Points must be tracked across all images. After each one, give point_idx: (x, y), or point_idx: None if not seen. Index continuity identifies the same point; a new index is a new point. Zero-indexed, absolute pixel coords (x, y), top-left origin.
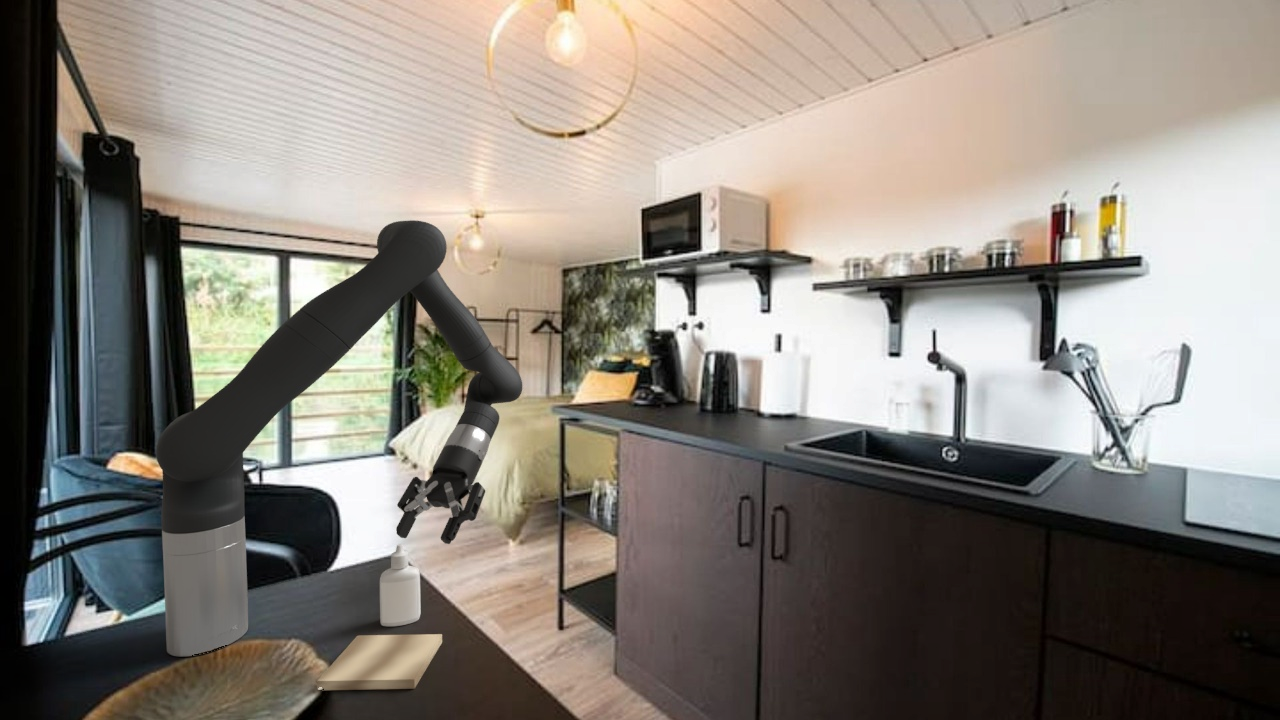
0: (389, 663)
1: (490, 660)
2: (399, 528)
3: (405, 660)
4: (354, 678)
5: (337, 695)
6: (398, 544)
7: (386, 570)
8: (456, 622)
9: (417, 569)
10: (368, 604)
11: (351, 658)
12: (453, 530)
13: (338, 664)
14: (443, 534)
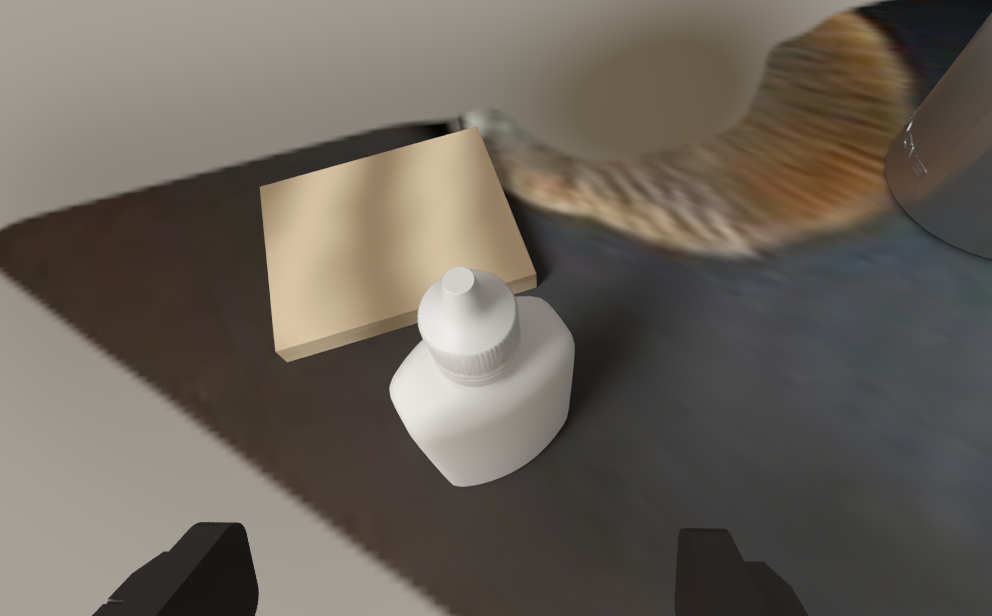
0: (352, 209)
1: (118, 331)
2: (722, 553)
3: (319, 229)
4: (400, 153)
5: None
6: (466, 279)
7: (541, 325)
8: (291, 480)
9: (405, 409)
10: (730, 502)
11: (465, 197)
12: (101, 613)
13: (477, 173)
14: (199, 536)
